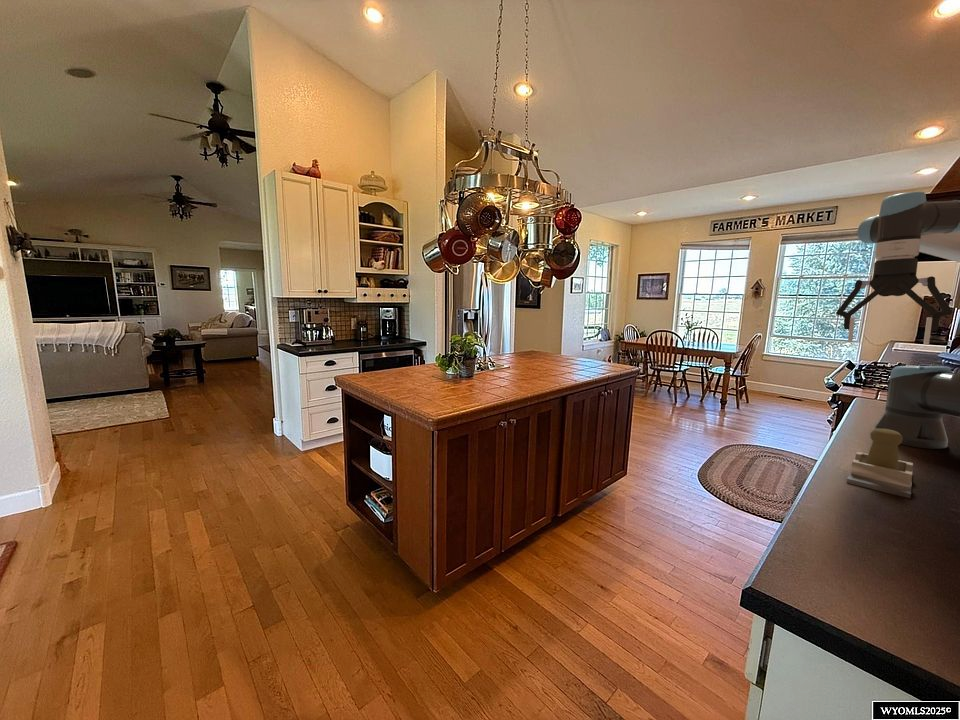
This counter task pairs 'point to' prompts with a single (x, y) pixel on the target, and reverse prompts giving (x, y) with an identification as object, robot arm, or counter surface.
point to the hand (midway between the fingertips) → (886, 343)
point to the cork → (884, 448)
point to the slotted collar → (881, 476)
